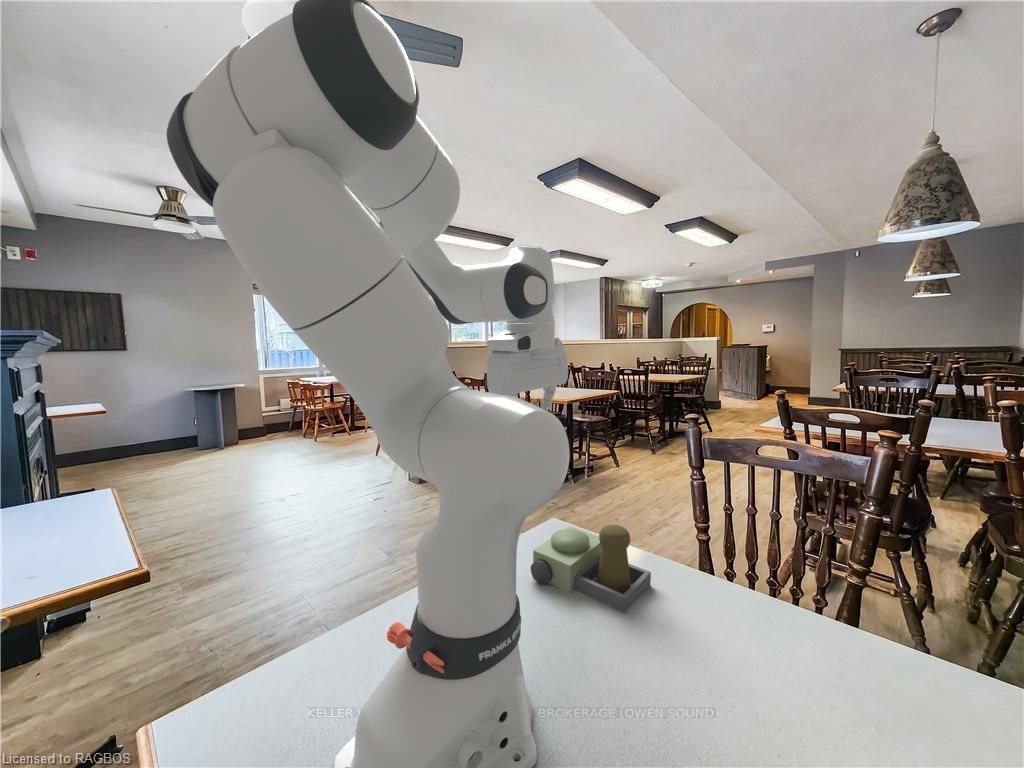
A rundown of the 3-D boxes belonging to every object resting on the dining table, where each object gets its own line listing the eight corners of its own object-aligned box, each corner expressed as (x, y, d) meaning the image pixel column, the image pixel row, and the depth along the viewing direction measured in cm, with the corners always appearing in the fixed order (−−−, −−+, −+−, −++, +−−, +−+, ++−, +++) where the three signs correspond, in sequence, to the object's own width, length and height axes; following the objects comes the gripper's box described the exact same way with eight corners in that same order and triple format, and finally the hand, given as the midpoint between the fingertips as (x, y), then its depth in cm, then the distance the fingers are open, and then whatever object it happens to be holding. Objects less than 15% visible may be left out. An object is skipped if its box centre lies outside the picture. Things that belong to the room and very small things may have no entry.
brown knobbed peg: (624, 603, 71) (625, 540, 70) (590, 590, 74) (591, 530, 73) (636, 584, 76) (637, 525, 74) (603, 573, 79) (604, 517, 78)
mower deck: (618, 621, 67) (619, 584, 66) (529, 578, 78) (529, 546, 77) (655, 579, 77) (657, 546, 77) (572, 547, 89) (573, 518, 88)
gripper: (549, 337, 89) (550, 402, 91) (479, 341, 74) (481, 420, 76) (575, 337, 85) (575, 406, 87) (507, 341, 70) (508, 425, 72)
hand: (531, 412), depth 81 cm, fingers open, 8 cm apart
